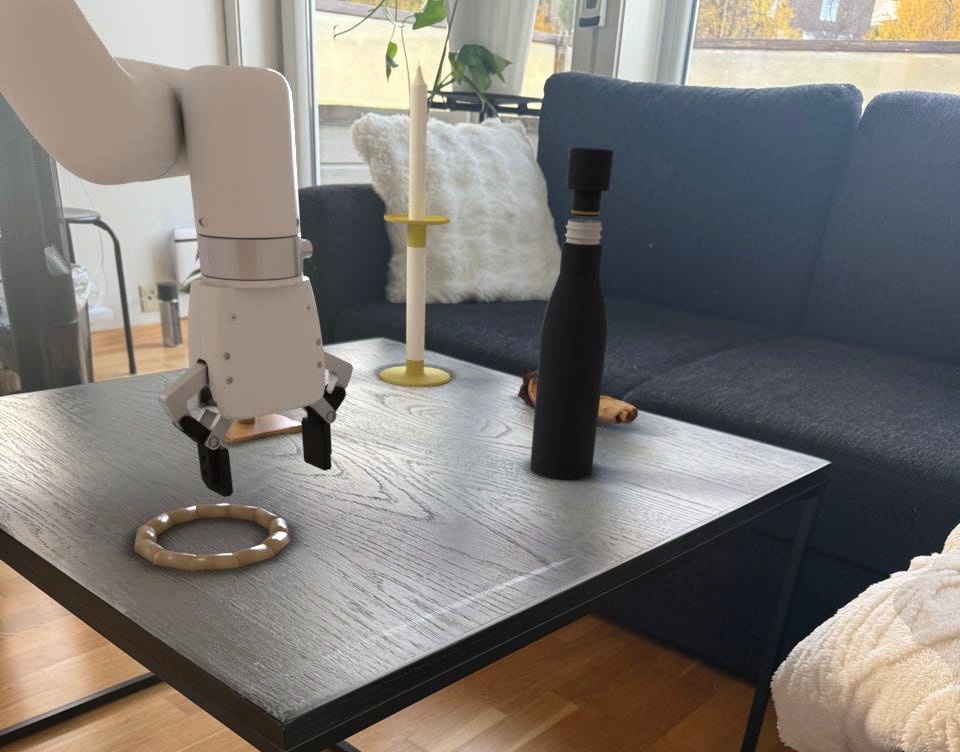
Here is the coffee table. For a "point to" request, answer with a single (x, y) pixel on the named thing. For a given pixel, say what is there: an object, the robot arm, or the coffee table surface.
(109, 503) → the coffee table surface
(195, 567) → the ring
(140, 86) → the robot arm
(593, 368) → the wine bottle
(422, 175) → the candle
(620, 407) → the brown oblong lump
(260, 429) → the stand
